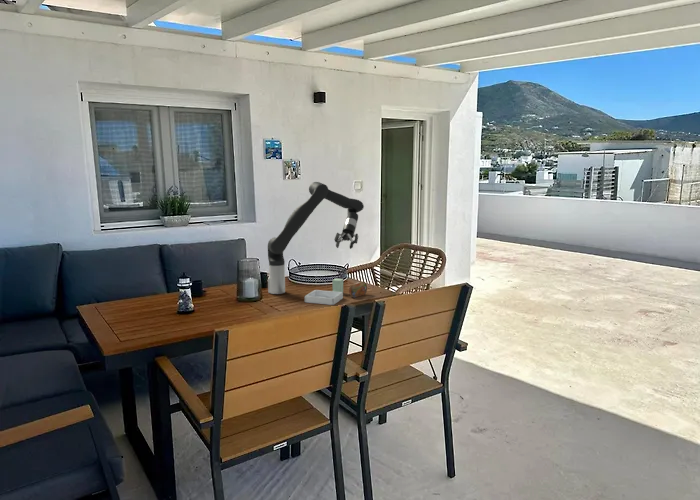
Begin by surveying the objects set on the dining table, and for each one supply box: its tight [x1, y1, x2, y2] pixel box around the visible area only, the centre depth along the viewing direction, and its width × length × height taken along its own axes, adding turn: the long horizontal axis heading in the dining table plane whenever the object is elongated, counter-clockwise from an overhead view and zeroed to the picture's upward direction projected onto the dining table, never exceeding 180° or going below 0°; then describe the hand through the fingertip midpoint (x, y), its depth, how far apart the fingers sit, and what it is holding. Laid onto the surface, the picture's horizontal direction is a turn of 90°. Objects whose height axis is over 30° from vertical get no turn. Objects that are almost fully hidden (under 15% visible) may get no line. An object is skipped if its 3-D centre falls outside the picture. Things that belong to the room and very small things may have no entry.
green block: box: [332, 277, 344, 293], centre depth 287 cm, size 5×5×9 cm
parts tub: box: [304, 289, 344, 306], centre depth 272 cm, size 17×15×4 cm
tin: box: [348, 281, 368, 299], centre depth 282 cm, size 15×3×8 cm, turn 143°
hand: (343, 247), depth 293 cm, fingers open, 8 cm apart
